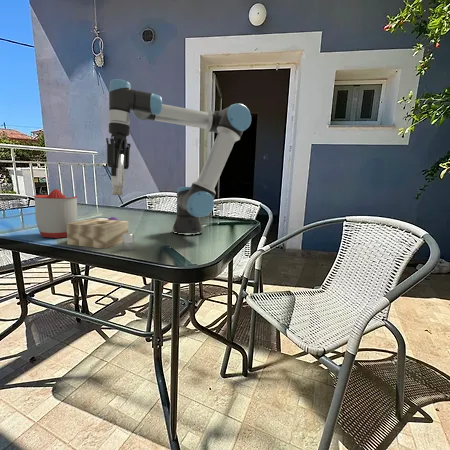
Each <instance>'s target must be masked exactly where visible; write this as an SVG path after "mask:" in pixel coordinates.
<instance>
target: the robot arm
mask: <svg viewBox="0 0 450 450" xmlns="http://www.w3.org/2000/svg"><path fill="white" fill-rule="evenodd" d="M108 103H109V104H108V111H109V112H108V113H109V114H108V121H109V123H108V133H109V134H111V135H110V137H106V138H105V141H106V158H107V159H106V160H107V161H106V162H107V163H106V164H107V166H108V168H111V169H110V177H111V178H110V184H111V186H113V185H119V168H117V167H118V159H119V154H123V155H124V186H125V185H126V170H128V169H129V167H130V153H131V152H130V151H131V150H130V148H131V146H132V145H131V143H128V139H127V137H129V136H130V128H131V126H129V125H130V124H131V111H132V114H133V116H134V117H135V119H137V120H139V121H146V120H147V121H154V122H162V123H168V124H175V125H180V126H185V127H190V128H191V127H192V128H197V129H198V128H199V129H203V130H204V129H205V131H206V132H211V133H216V134H217V135H216V138H215V140H214V142H213V144H212V147H211V149H210V151H209V154H208V155H207V158H206V160H205V162H204V165H203V167H202V169H201V172H200V174H199V176H198V178H197V179H196V181H193V182H192V183H191V186H180V187H178V188H177V190H176V192H177V193H176V216H175V217H176V218H175V221H174V223H173V226H172V232H173V231H174V232H177V233H197V232H200V231H202V232H203V227H202V226H203V225H202V221H201V219H200V218H204V217H207V216H208V215H210V214H211V213H212V212H213V211H214V208H215V196H216V194H217V193H216V190H215V188H216V186H217V183H218V181H219V179H220V177H221V175H222V172H223V170H224V168H225V166H226V163H227V161H228V158H229V157H230V154H231V152H232V150H233V147H234V144H235V143H236V142H238V141H241V137H242V135H243V132H244V131H246V130H247V129H249V127H250V126H251V124H252V115H251V111H250V109H249V108H248V107H247V106H246V105H244V104H243V103H234V104H231V105H229V106H228V107H226V108H224V109H222V110H215V111H214V110H208V111H201V110H197V109H191V108H184V107H180V106H175V105H170V104H164V103H163V98H162V96H161V95H159V94H155V93H153V92H152V93H151V92H147V91H142V90H141V91H140V90H137V89H133V88H132V85H131V83H130V82H129V81H126V80H124V79H121V78H115V79H114V78H113V79H111V80H110V81H109V92H108Z"/></svg>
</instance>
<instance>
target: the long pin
mask: <svg viewBox="0 0 450 450" xmlns="http://www.w3.org/2000/svg"><path fill="white" fill-rule="evenodd" d="M117 168H119V185H112V195H113V196H124V190H125V189H124V186H125V185H124V155H123V154H119V159H118V167H117Z"/></svg>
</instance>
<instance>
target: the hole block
mask: <svg viewBox="0 0 450 450" xmlns="http://www.w3.org/2000/svg"><path fill="white" fill-rule="evenodd" d="M123 233H129V221H127V220H119V219H118V220H108V218H107V219H105V218H89V219H85V220H79V221H78V220H77V222H73V223H68V224H67V237H66V238H67V239H66V242H67V246H68V245H69V246H79V247H89V248H98V249H104V250H105V249H108V248H110V247H114V246H116V245H118V244H121V243H122V234H123Z"/></svg>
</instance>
